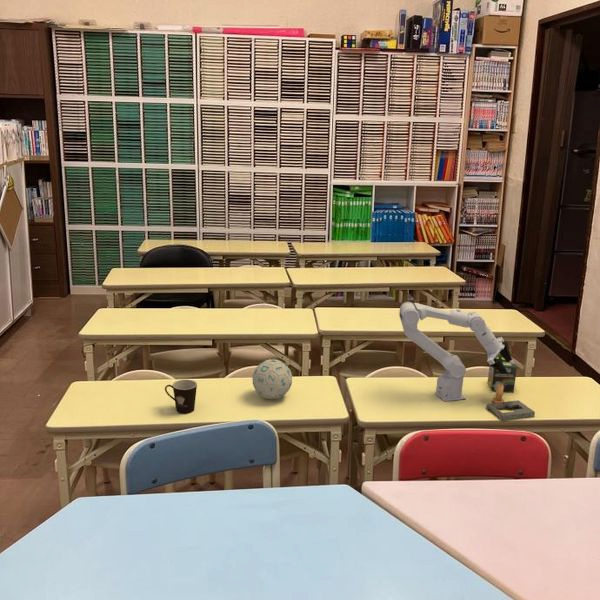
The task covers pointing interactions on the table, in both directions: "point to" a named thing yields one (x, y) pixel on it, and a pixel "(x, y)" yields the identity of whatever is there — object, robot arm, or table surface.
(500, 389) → the peg
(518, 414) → the keyhole plate
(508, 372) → the chalk box
